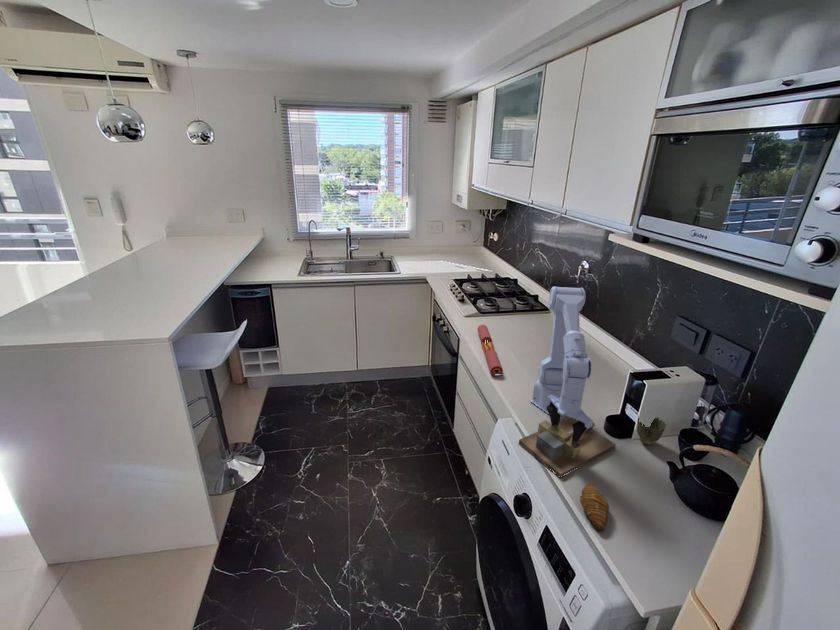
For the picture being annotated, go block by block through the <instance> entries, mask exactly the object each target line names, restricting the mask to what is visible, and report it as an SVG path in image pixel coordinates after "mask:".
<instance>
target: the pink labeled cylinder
mask: <svg viewBox="0 0 840 630" xmlns="http://www.w3.org/2000/svg"><path fill="white" fill-rule="evenodd" d="M477 333H478V336H479V339H480V342H481V346H482V350H483V352H484V353H483V354H484V356H485V359H486V363H487V365H488V369H489V372H490V373H489V374H490V375H491V376H492V375H495V374H502V375H503V372H504V369H503V367H502V364H501V362H500V359H499V356H498V353H497V351H496V349H495V346H494V344H493V339H492V336H491V334H490V331H489V328H488V326H487V325H486V324H480V325H478V327H477ZM485 340H486V344H485ZM487 340H488V343H487Z"/></svg>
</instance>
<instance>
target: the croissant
mask: <svg viewBox="0 0 840 630" xmlns="http://www.w3.org/2000/svg"><path fill="white" fill-rule="evenodd" d="M579 497H580V499H579V502H580V504H581V506H582V508H583V510H584V511H585V513H586V516H587V518H588V519H589V521H590V523H591V524H592V526H593V527H594V528H595V529H596V531H598V532H604V530H605V528H606V527H607V523H608V520H609V516H608V514H609V511H610V510H609V509H610V506H609V503H608V501H607V500H606V498H605V496H604V494H602V493H601V492H600V490H599V489H598V488H597V486H595V485H593V484H591V483H586V484H585V486H584V487H583V489H582V490H581V495H580V496H579Z"/></svg>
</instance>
